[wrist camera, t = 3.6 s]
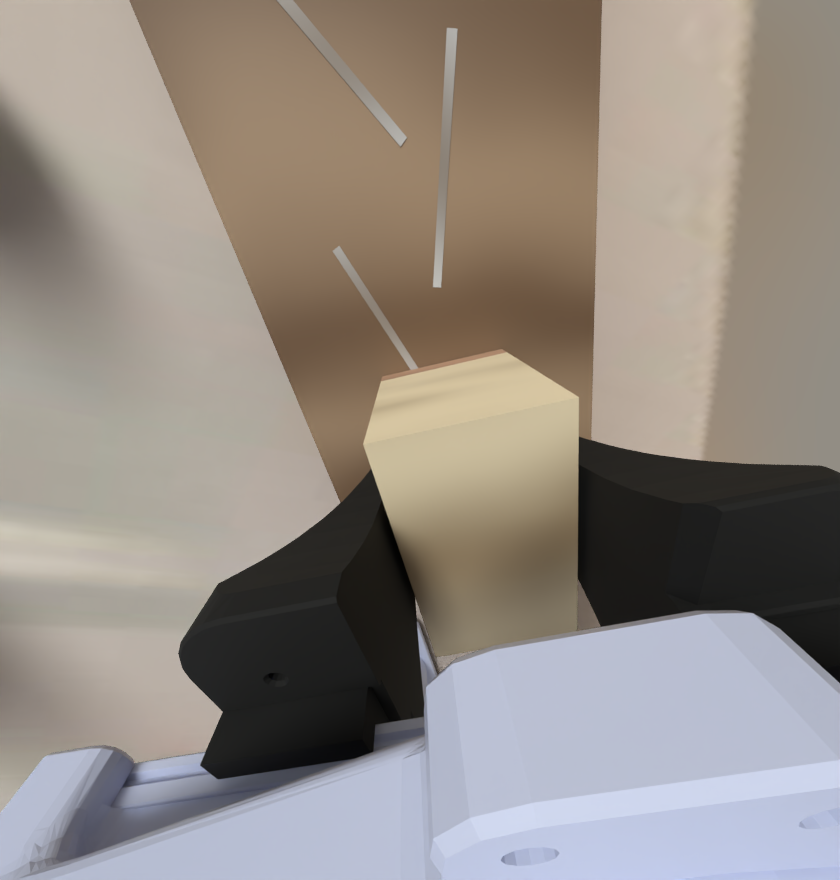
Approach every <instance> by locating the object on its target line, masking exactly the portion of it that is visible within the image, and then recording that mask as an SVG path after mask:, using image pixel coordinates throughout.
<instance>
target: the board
mask: <svg viewBox="0 0 840 880" xmlns="http://www.w3.org/2000/svg"><path fill="white" fill-rule="evenodd" d="M130 3H131V5H132V7H133V10H134V12H135V15H136V17H137V19H138V22H139V24H140V27H141V29H142V31H143V34H144V36H145V38H146V41H147V43H148V46H149V48H150V50H151V53H152V55H153V57H154V60H155V62H156V65H157V67H158V69H159V72H160V74H161V76H162V79H163V81H164V84H165V86H166V88H167V91H168V93H169V96H170V98H171V100H172V103H173V105H174V107H175V110H176V112H177V115H178V117H179V119H180V122H181V124H182V126H183V129H184V131H185V134H186V136H187V138H188V141H189V143H190V145H191V148H192V150H193V153H194V155H195V157H196V160H197V162H198V165H199V167H200V169H201V172H202V174H203V176H204V179H205V181H206V184H207V186H208V188H209V191H210V193H211V195H212V198H213V200H214V203H215V205H216V207H217V210H218V212H219V215H220V217H221V219H222V222H223V224H224V226H225V229H226V231H227V234H228V236H229V238H230V241H231V243H232V245H233V248H234V250H235V253H236V255H237V257H238V260H239V262H240V264H241V267H242V269H243V272H244V274H245V276H246V279H247V281H248V284H249V286H250V288H251V291H252V293H253V295H254V298H255V300H256V303H257V305H258V307H259V310H260V312H261V314H262V317H263V319H264V322H265V324H266V326H267V329H268V331H269V334H270V336H271V338H272V341H273V343H274V345H275V348H276V350H277V353H278V355H279V357H280V360H281V362H282V364H283V367H284V369H285V372H286V374H287V376H288V379H289V381H290V383H291V386H292V388H293V391H294V393H295V395H296V398H297V400H298V403H299V405H300V407H301V410H302V412H303V414H304V417H305V419H306V422H307V424H308V426H309V429H310V431H311V433H312V436H313V438H314V441H315V443H316V445H317V448H318V450H319V453H320V455H321V457H322V460H323V462H324V464H325V467H326V469H327V472H328V474H329V476H330V479H331V481H332V483H333V486H334V488H335V491H336V493H337V495H338V498H339V500H340V502H342V501H343V500H344V499H345V498H346V497H347V496H348V495H349V494H350V493H351V492H352V491H353V489H354V488H355V487H356V486H357V485H358V484H359V483H360V482H361V481H362V479H363V478H364V477H365V476H366V474H367V473H368V472H369V471H370V469H371V466H370V463H369V460H368V457H367V454H366V451H365V449H364V446H363V443H364V439H365V436H366V432H367V429H368V425H369V422H370V418H371V415H372V411H373V408H374V404H375V401H376V397H377V393H378V390H379V386H380V383H381V379H382V377H383V376H387V375H391V374H396V373H400V372H404V371H409V370H413V369H417V368H422V367H426V366H430V365H434V364H439V363H443V362H447V361H452V360H456V359H460V358H465V357H469V356H473V355H478V354H482V353H486V352H491V351H495V350H499V349H503V350H504V351H506V352H507V353H509V354H511V355H512V356H514V357H515V358H517V359H519V360H520V361H522V362H523V363H525V364H527V365H528V366H530V367H531V368H533V369H535V370H536V371H538V372H539V373H541V374H543V375H544V376H546V377H547V378H549V379H551V380H552V381H554V382H555V383H557V384H559V385H560V386H562V387H563V388H565V389H567V390H568V391H570V392H571V393H573V394H575V395H576V396H578V397H579V437H582V438H585V439H588V440H591V421H592V381H593V340H594V299H595V258H596V218H597V177H598V136H599V95H600V55H601V14H602V0H130Z"/></svg>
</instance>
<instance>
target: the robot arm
mask: <svg viewBox="0 0 840 880" xmlns="http://www.w3.org/2000/svg"><path fill="white" fill-rule="evenodd" d="M578 579H579V581H580V583H581V585H582V587H583V590H584V592H585V594H586V596H587V598H588V600H589V602H590V604H591V606H592V608H593V610H594V612H595V614H596V617H597V619H598V621H599V623H600V625H601V627H598V628H592V629H586V630H581V631H575V632H569V633H563V634H557V635H552V636H546V637H540V638H534V639H528V640H523V641H517V642H511V643H505V644H499V645H494V646H491V647H488V648H485V649H482V650H479V651H476V652H473V653H470V654H467V655H464V656H461V657H458V658H456V659H455V660H454V661H452V662H451V663H450V664H449V665H448V666H447V667H446V668H445V669H444V670H442V671H441V672H440V673H439V674H438V675H437V672H436V670H435V667H434V664H433V661H432V658H431V655H430V653H429V650H428V647H427V644H426V641H425V639H424V636H423V633H422V630H421V627H420V625H419V623H418V622H417V617H416V603H415V594H414V591H413V589H412V586H411V583H410V580H409V577H408V574H407V571H406V568H405V565H404V562H403V559H402V556H401V554H400V551H399V548H398V545H397V542H396V539H395V536H394V533H393V530H392V527H391V524H390V521H389V519H388V516H387V513H386V510H385V507H384V504H383V501H382V498H381V495H380V492H379V489H378V486H377V484H376V481H375V478H374V475H373V472H372V469H370V471H369V472H368V473H367V474H366V476H365V477H364V478H363V479H362V481H361V482H360V483H359V484H358V485H357V486H356V487H355V488H354V489H353V491H352V492H351V493H350V494H349V495H348V496H347V497H346V498H345V499H344V500H343V501H342V502H341V503H340V504H339V505H338V506H337V507H336V508H335V509H334V510H332V511H331V512H330V513H329V514H328V515H327V516H326V517H324V518H323V519H322V520H321V521H319V522H318V523H317V524H315V525H314V526H313V527H311V528H310V529H309V530H308V531H306V532H305V533H304V534H302V535H301V536H300V537H298V538H297V539H295V540H294V541H292V542H291V543H289V544H288V545H286V546H285V547H283V548H282V549H280V550H278V551H277V552H275V553H273V554H272V555H270V556H269V557H267V558H265V559H263V560H262V561H260V562H258V563H256V564H255V565H253V566H251V567H249V568H247V569H245V570H243V571H242V572H240V573H238V574H236V575H234V576H232V577H230V578H229V579H227V580H225V581H223V582H221V583H219V584H218V585H217V586H216V588H215V590H214V591H213V593H212V594H211V596H210V597H209V599H208V601H207V602H206V604H205V605H204V607H203V608H202V610H201V612H200V613H199V615H198V616H197V618H196V619H195V621H194V622H193V624H192V626H191V627H190V629H189V630H188V632H187V633H186V635H185V637H184V638H183V640H182V641H181V644H180V649H179V653H178V654H179V658H180V661H181V665H182V668H183V670H184V671H185V673H186V674H187V675H188V677H189V678H190V679H191V680H192V681H193V682H194V683H195V684H196V685H197V686H198V687H199V688H200V689H201V690H202V691H203V692H204V693H205V694H206V695H207V696H208V697H209V698H210V699H211V700H212V701H213V702H214V703H215V704H216V705H217V706H218V707H219V708H220V709H221V710H222V711H223V713H222V715H221V718H220V720H219V722H218V725H217V727H216V729H215V732H214V734H213V736H212V738H211V741H210V743H209V745H208V748H207V750H206V752H201V753H195V754H189V755H182V756H176V757H170V758H164V759H157V760H151V761H145V762H139V763H134V761H133V759H132V758H131V757H130V756H129V755H128V754H126V753H125V752H124V751H122V750H120V749H118V748H115V747H111V746H105V745H102V746H91V747H85V748H79V749H73V750H67V751H61V752H55V753H51V754H49V755H47V756H45V757H44V758H43V759H42V760H41V761H40V763H39V764H38V765H37V767H36V768H35V769H34V770H33V772H32V773H31V774H30V776H29V777H28V778H27V779H26V781H25V782H24V783H23V785H22V786H21V787H20V788H19V790H18V791H17V792H16V794H15V795H14V796H13V797H12V799H11V800H10V801H9V803H8V804H7V805H6V806H5V808H4V809H3V810H2V812H1V813H0V880H840V473H839V472H837V471H834V470H832V469H829V468H827V467H823V466H809V465H765V464H763V465H762V464H739V463H725V462H711V461H710V462H709V461H700V460H690V459H682V458H675V457H667V456H660V455H653V454H647V453H642V452H637V451H632V450H627V449H623V448H618V447H614V446H610V445H606V444H602V443H599V442H595V441H592V440H588V439H585V438H582V437H579V454H578Z"/></svg>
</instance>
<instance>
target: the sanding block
mask: <svg viewBox="0 0 840 880" xmlns="http://www.w3.org/2000/svg"><path fill="white" fill-rule="evenodd" d="M363 446H364V449H365V451H366V454H367V457H368V460H369V463H370V466H371V469H372V472H373V475H374V478H375V481H376V484H377V486H378V489H379V492H380V495H381V498H382V501H383V504H384V507H385V510H386V513H387V516H388V519H389V521H390V524H391V527H392V530H393V533H394V536H395V539H396V542H397V545H398V548H399V551H400V554H401V556H402V559H403V562H404V565H405V568H406V571H407V574H408V577H409V580H410V583H411V586H412V589H413V591H414V594H415V597H416V600H417V603H418V606H419V609H420V612H421V615H422V618H423V621H424V624H425V626H426V629H427V632H428V635H429V638H430V641H431V644H432V647H433V650H434V653H435V656H436V657H441V656H446V655H452V654H458V653H464V652H470V651H475V650H481V649H485V648H488V647H491V646H494V645H499V644H505V643H511V642H517V641H523V640H528V639H534V638H540V637H546V636H552V635H557V634H563V633H569V632H575V631H577V594H578V454H579V397H578V396H576V395H575V394H573V393H571V392H570V391H568V390H567V389H565V388H563V387H562V386H560V385H559V384H557V383H555V382H554V381H552V380H551V379H549V378H547V377H546V376H544V375H543V374H541V373H539V372H538V371H536V370H535V369H533V368H531V367H530V366H528V365H527V364H525V363H523V362H522V361H520V360H519V359H517V358H515V357H514V356H512V355H511V354H509V353H507V352H506V351H504V350H503V349H499V350H495V351H491V352H486V353H482V354H478V355H473V356H469V357H465V358H460V359H456V360H452V361H447V362H443V363H439V364H434V365H430V366H426V367H422V368H417V369H413V370H409V371H404V372H400V373H396V374H391V375H387V376H383V377H382V379H381V383H380V386H379V390H378V393H377V397H376V401H375V404H374V408H373V411H372V415H371V418H370V422H369V425H368V429H367V432H366V436H365V439H364V443H363Z"/></svg>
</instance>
